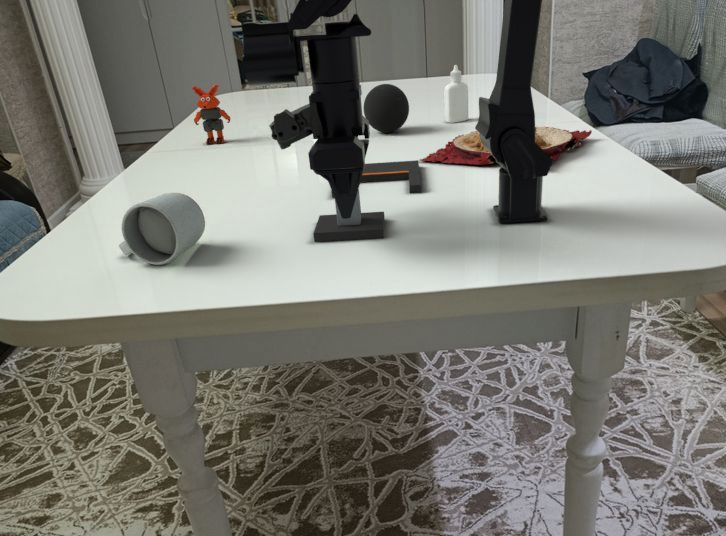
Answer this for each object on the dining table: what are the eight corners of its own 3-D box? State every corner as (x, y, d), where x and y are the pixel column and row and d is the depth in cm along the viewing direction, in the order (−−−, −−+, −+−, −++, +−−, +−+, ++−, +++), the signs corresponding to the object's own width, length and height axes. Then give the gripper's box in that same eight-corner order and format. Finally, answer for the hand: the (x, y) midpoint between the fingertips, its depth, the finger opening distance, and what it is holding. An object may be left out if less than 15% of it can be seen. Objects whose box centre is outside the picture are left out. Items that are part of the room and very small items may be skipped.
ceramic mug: (214, 242, 85) (201, 184, 81) (185, 265, 78) (169, 204, 74) (143, 242, 87) (127, 186, 83) (108, 265, 80) (89, 205, 76)
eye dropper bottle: (443, 120, 150) (442, 64, 144) (467, 118, 150) (467, 63, 144) (445, 123, 147) (444, 67, 141) (470, 121, 147) (469, 65, 141)
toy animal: (194, 147, 141) (182, 89, 135) (200, 142, 145) (188, 85, 140) (230, 144, 141) (219, 86, 135) (235, 139, 145) (224, 83, 140)
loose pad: (383, 237, 82) (380, 198, 80) (314, 242, 83) (309, 202, 80) (384, 219, 89) (381, 182, 86) (320, 223, 89) (315, 186, 86)
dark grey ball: (406, 136, 137) (404, 86, 132) (361, 137, 139) (357, 88, 134) (413, 126, 145) (410, 79, 140) (370, 128, 147) (366, 81, 142)
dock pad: (421, 192, 99) (420, 184, 99) (332, 197, 100) (331, 189, 99) (418, 167, 113) (418, 159, 112) (340, 172, 114) (339, 164, 113)
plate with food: (592, 141, 123) (593, 122, 122) (543, 170, 104) (544, 148, 103) (480, 136, 135) (480, 119, 133) (419, 161, 116) (418, 141, 114)
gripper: (281, 75, 85) (298, 191, 92) (253, 96, 68) (276, 234, 76) (364, 69, 84) (374, 186, 92) (356, 89, 68) (369, 229, 76)
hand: (348, 207), depth 84 cm, fingers open, 9 cm apart
